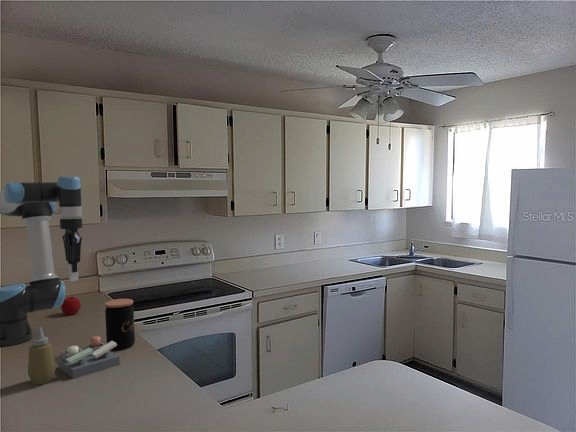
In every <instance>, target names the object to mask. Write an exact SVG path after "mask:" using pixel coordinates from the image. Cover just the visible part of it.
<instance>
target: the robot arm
mask: <svg viewBox="0 0 576 432" xmlns="http://www.w3.org/2000/svg"><path fill="white" fill-rule="evenodd" d="M56 203H58V208H59V209H58V210H57V212H58V214H59V217H60V219H59V228H60V229H61V230H65V231H64V235H62V236H61V237H62V241H63V247H64V255H65V261H66V262H67V264H68V279H69V282H75V281H79V265H78V264H79V263H80V262H81V252H82V251H81V249H82V245H81V244H82V240H83V238H82V236H80V234H79V229H82V228H83V219H82V218H81V217H83V207H82V184H81V178H80V177H79V176H73V175H72V176H71V175H70V176H59V177H57V181H56V182H55V181H52V182H51V181H49V182H45V181H44V182H37V181H36V182H28V181H27V182H22V181H21V182H19V181H16V182H7V183H6V184H5V185H4V189H2V190H0V215H2V216H6V217H21V220H22V222H24V223H25V224H26V227H27V228H26V229H27V236H28V237H27V238H28V245H29V246H28V247H29V255H30V265H31V273H32V277H31V278H30V280H29V283H28V284H29V285H26V284H25V283H24V282H19V283H11V284H8V285H7V284H6V285H3V286H1V287H0V347H8V346H14V345H15V346H16V345H19V344H23V343H26V342H28V341H30V340H33V339H34V331H33V329H32V327H31V325H30V323H29V321H28V314H30V313H36V312H41V311H42V312H43V311H47V310H52V309H56V308H61V305H62V304H63V302H64V300H65V299H66V298H65V297H66V285H65V282H64V281H63V280H60V276H58V275H57V274H55V267H54V266H55V265H54V264H55V263H54V258H53V250H52V238H51V234H50V233H51V232H50V230H51V229H50V223H49V222H50V221H51V220H52V218H53V217H52V216H53V215H54V214H55V213H56Z"/></svg>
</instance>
